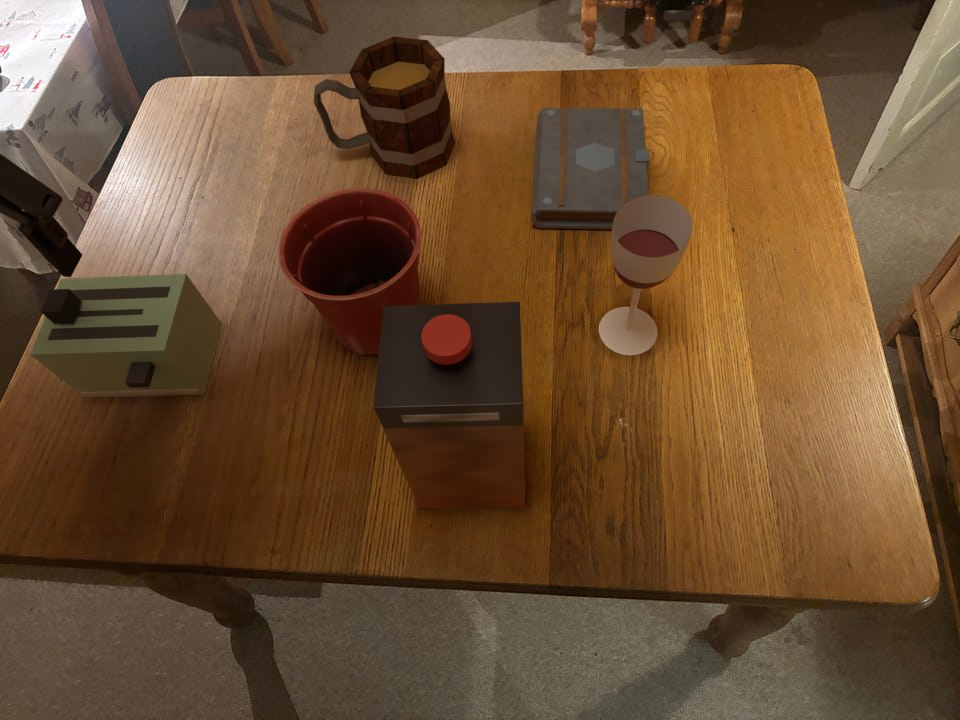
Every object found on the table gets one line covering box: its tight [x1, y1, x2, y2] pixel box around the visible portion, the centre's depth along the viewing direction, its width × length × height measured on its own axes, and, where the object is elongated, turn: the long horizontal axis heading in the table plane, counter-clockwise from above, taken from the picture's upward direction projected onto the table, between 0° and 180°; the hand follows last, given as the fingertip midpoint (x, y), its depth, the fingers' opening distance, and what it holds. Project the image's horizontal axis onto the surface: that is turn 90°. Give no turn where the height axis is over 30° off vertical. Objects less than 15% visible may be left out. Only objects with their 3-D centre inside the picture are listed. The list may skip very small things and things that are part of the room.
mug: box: [313, 36, 456, 180], centre depth 99 cm, size 20×14×15 cm
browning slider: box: [40, 288, 82, 324], centre depth 77 cm, size 2×3×3 cm
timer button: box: [421, 314, 472, 365], centre depth 53 cm, size 4×4×1 cm
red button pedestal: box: [373, 301, 526, 510], centre depth 66 cm, size 12×10×26 cm
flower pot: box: [277, 187, 423, 356], centre depth 82 cm, size 16×16×16 cm
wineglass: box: [598, 194, 694, 356], centre depth 77 cm, size 8×9×20 cm
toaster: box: [29, 273, 223, 399], centre depth 82 cm, size 16×14×11 cm
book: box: [530, 107, 650, 230], centre depth 98 cm, size 21×16×5 cm
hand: (7, 263), depth 63 cm, fingers open, 13 cm apart
